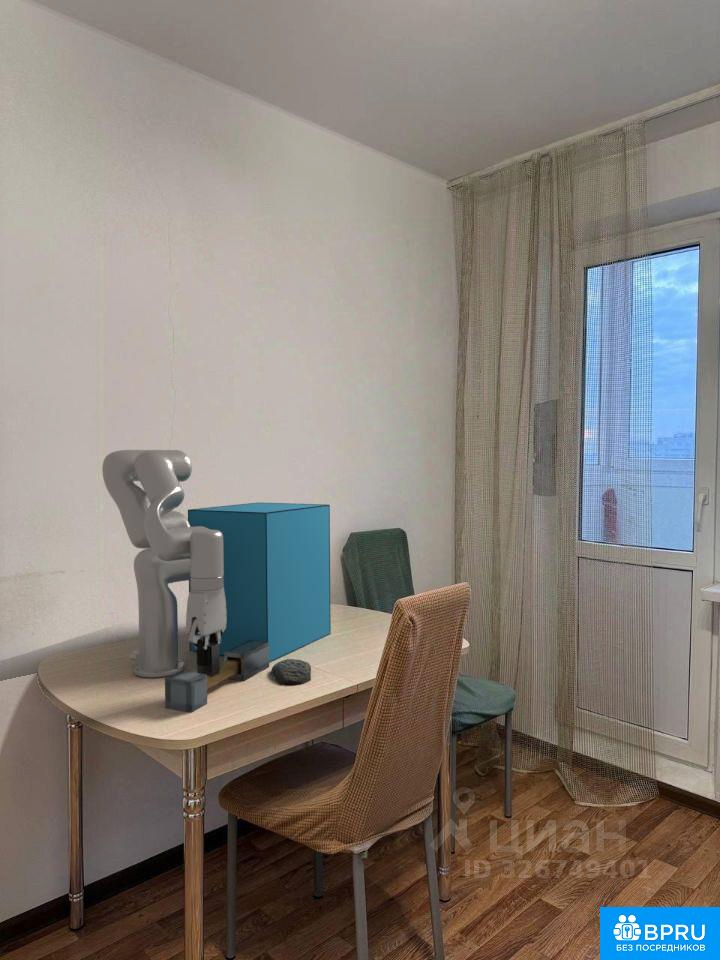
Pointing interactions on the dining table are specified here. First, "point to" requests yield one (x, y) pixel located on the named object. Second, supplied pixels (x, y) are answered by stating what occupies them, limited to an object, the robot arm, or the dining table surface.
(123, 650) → the dining table surface
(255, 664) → the sleeve
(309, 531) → the box
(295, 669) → the fossil
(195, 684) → the socket
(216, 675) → the tan bar piece
